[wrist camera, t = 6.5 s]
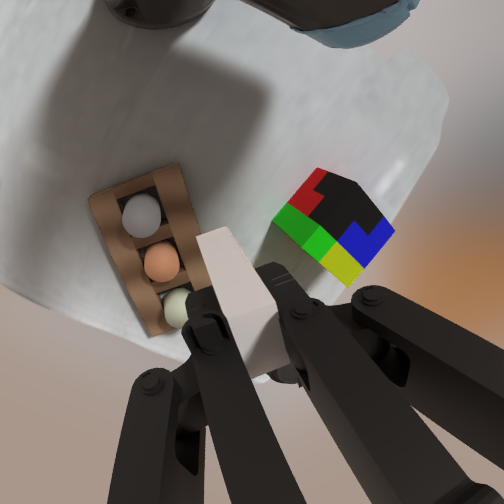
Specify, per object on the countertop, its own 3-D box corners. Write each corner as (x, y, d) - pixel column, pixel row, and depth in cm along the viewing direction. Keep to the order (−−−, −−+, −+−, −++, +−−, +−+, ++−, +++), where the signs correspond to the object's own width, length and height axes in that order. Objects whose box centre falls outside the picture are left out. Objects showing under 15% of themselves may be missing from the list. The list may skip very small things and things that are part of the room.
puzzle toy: (355, 209, 48) (395, 230, 39) (315, 256, 49) (348, 287, 41) (316, 167, 43) (356, 182, 34) (271, 220, 45) (301, 247, 36)
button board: (90, 195, 36) (87, 199, 34) (177, 162, 38) (178, 164, 36) (151, 328, 46) (152, 336, 44) (224, 302, 48) (227, 310, 46)
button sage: (158, 293, 42) (159, 307, 39) (188, 283, 43) (191, 296, 40) (170, 318, 44) (172, 332, 41) (199, 308, 45) (202, 322, 42)
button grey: (119, 200, 36) (116, 208, 33) (153, 187, 36) (153, 194, 33) (132, 233, 38) (130, 243, 35) (165, 221, 38) (166, 230, 35)
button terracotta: (139, 246, 40) (138, 256, 37) (171, 235, 41) (172, 244, 38) (151, 274, 42) (152, 286, 39) (182, 263, 43) (184, 275, 40)
